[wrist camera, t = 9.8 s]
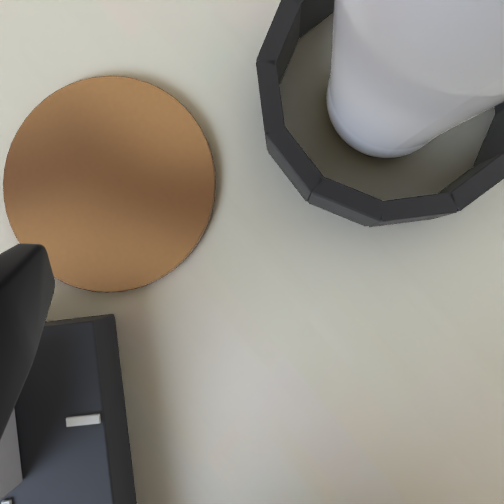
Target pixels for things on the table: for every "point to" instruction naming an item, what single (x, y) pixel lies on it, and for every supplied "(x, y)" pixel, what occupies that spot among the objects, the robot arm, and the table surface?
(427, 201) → the ring
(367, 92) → the drinking glass
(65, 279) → the coaster
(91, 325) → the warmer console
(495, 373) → the table surface
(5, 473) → the gray box
